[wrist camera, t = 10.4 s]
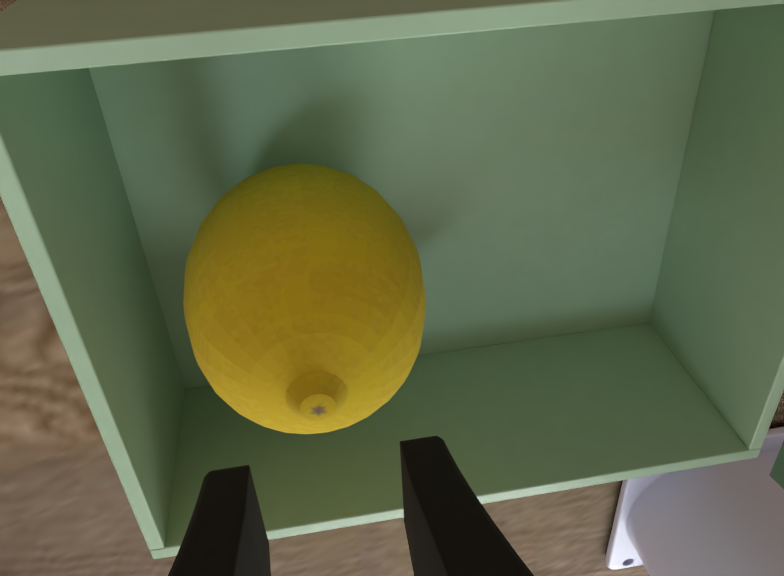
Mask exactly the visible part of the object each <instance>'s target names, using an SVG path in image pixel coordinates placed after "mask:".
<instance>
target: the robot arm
mask: <svg viewBox="0 0 784 576" xmlns="http://www.w3.org/2000/svg"><path fill="white" fill-rule="evenodd" d="M783 441H784V427H778V428H772V429H769V430H768V432H767V435H766V437H765V440H764V443H763V445H762V447H761V450H760V453H759V455H758V457H757V458H751V459H745V460H739V461H733V462H727V463H721V464H715V465H710V466H704V467H698V468H692V469H686V470H680V471H674V472H668V473H662V474H656V475H650V476H644V477H638V478H633V479H627V480H623V482H622V486H621V491H620V495H619V499H618V504H617V508H616V513H615V517H614V522H613V526H612V531H611V535H610V539H609V544H608V548H607V553H606V557H605V562H606V564H607V566H608V568H609V569H613V570H616V569H622V568H627V567H633V566H638V565H644V567H645V569H646V570H647V572H648V574H649V576H784V489H783V488H782V487H781V486H780V485H779V484H778V483H777V482H776V481H775V480H773V479H772V478H771V477H770V473H771V470H772V468H773V465H774V463H775V460H776V458H777V456H778V453H779V451H780V448H781V446H782V443H783ZM400 456H401V473H402V490H403V508H404V522H405V528H406V533H407V539H408V544H409V550H410V555H411V561H412V566H413V571H414V576H534V575H533V574H532V573H531V571H530V570H529V569H528V567H527V566H526V565H525V564H524V562H523V561H522V560H521V558H520V557H519V556H518V555H517V553H516V552H515V550H514V549H513V548H512V546H511V545H510V544H509V542H508V541H507V540H506V538H505V537H504V535H503V534H502V533H501V531H500V530H499V529H498V527H497V526H496V524H495V523H494V522H493V520H492V519H491V517H490V516H489V515H488V513H487V512H486V510H485V509H484V507H483V506H482V504H481V503H480V501H479V500H478V498H477V497H476V495H475V494H474V492H473V490H472V489H471V487H470V486H469V484H468V483H467V481H466V479H465V478H464V476H463V475H462V473H461V471H460V469H459V468H458V466H457V464H456V463H455V461H454V459H453V457H452V455H451V454H450V452H449V450H448V448H447V446H446V444H445V442H444V440H443V439H442V438H440V437H438V436H430V437H424V438H418V439H411V440H405V441H400ZM168 576H271V571H270V554H269V542H268V538H267V534H266V530H265V526H264V522H263V518H262V514H261V510H260V506H259V502H258V498H257V494H256V490H255V486H254V482H253V478H252V474H251V470H250V466H249V465H245V466H239V467H232V468H226V469H220V470H213V471H210V472H209V473H208V474H207V475H206V476H205V477H204V479H203V483H202V486H201V489H200V493H199V496H198V499H197V502H196V505H195V508H194V511H193V514H192V517H191V520H190V522H189V525H188V528H187V530H186V533H185V536H184V538H183V541H182V543H181V546H180V548H179V551H178V554H177V556H176V559H175V561H174V563H173V566H172V568H171V570H170V573H169V575H168Z"/></svg>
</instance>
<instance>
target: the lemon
mask: <svg viewBox="0 0 784 576" xmlns="http://www.w3.org/2000/svg"><path fill="white" fill-rule="evenodd" d="M183 307H184V316H185V322H186V326H187V329H188V333H189V337H190V341H191V345H192V349H193V352H194V356H195V358H196V361H197V363H198V366H199V367H200V369H201V370H202V372H203V374H204V375H205V377H206V378H207V380H208V382H209V383H210V385H211V386H212V388H213V389H214V391H215V393H216V394H217V395H218V396H219V397H221V398H222V399H223V400H224V401H225V402H226V403H227V404H228V405H229V406H231V407H232V408H233V409H234V410H235V411H236V412H237V413H239V414H240V415H242V416H244V417H246V418H248V419H249V420H251V421H253V422H255V423H257V424H259V425H261V426H264V427H266V428H270V429H274V430H277V431H281V432H284V433H295V434H315V433H326V432H331V431H334V430H338V429H341V428H345V427H349V426H351V425H353V424H355V423H357V422H359V421H361V420H363V419H365V418H367V417H368V416H370V415H371V414H372V413H373V412H375V411H376V410H377V409H379V408H380V407H381V406H383V405H384V404H385V403H386V402H388V401H389V400H390V399H391V398H392V396H393V395H394V394H395V393H396V392H397V390H398V389H399V388H400V387H401V386H402V384H403V383H404V382H405V380H406V379H407V377H408V375H409V373H410V371H411V369H412V366H413V364H414V362H415V360H416V358H417V355H418V352H419V349H420V346H421V340H422V334H423V327H424V320H425V311H426V295H425V288H424V281H423V275H422V268H421V262H420V258H419V254H418V251H417V249H416V247H415V244H414V242H413V240H412V238H411V236H410V234H409V232H408V230H407V228H406V226H405V224H404V222H403V221H402V219H401V218H400V216H399V215H398V214H397V212H396V211H395V210H394V209H393V208H392V207H391V206H390V205H389V204H388V202H387V201H386V200H385V199H384V198H383V197H382V196H381V195H380V194H379V193H378V192H377V191H376V190H375V189H374V188H372V187H371V186H369V185H367V184H366V183H364V182H363V181H361V180H360V179H358V178H356V177H355V176H353V175H352V174H349V173H346V172H343V171H340V170H337V169H334V168H330V167H327V166H324V165H315V164H302V163H295V164H289V165H282V166H276V167H271V168H269V169H266V170H264V171H261V172H259V173H257V174H254V175H252V176H249V177H247V178H245V179H244V180H242V181H241V182H240V183H238V184H237V185H236V186H234V187H233V188H232V189H230V190H229V191H228V192H226V193H225V194H224V195H223V196H222V197H221V198H220V199H219V201H218V202H217V203H216V204H215V206H214V207H213V208H212V209H211V211H210V212H209V213H208V215H207V216H206V217H205V218H204V220H203V221H202V223H201V225H200V227H199V229H198V232H197V234H196V237H195V240H194V242H193V245H192V247H191V250H190V252H189V255H188V258H187V262H186V266H185V280H184V297H183Z"/></svg>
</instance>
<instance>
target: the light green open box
mask: <svg viewBox="0 0 784 576" xmlns="http://www.w3.org/2000/svg"><path fill="white" fill-rule="evenodd" d="M295 163H302V164H315V165H324V166H327V167H330V168H334V169H337V170H340V171H343V172H346V173H349V174H352V175H353V176H355V177H356V178H358V179H360V180H361V181H363V182H364V183H366V184H367V185H369V186H371V187H372V188H374V189H375V190H376V191H377V192H378V193H379V194H380V195H381V196H382V197H383V198H384V199H385V200H386V201H387V202H388V204H389V205H390V206H391V207H392V208H393V209H394V210H395V211H396V212H397V214H398V215H399V216H400V218H401V219H402V221H403V222H404V224H405V226H406V228H407V230H408V232H409V234H410V236H411V238H412V240H413V242H414V244H415V247H416V249H417V251H418V254H419V258H420V262H421V268H422V275H423V281H424V288H425V295H426V311H425V320H424V327H423V334H422V340H421V346H420V349H419V352H418V355H417V358H416V360H415V362H414V364H413V366H412V369H411V371H410V373H409V375H408V377H407V379H406V380H405V382H404V383H403V384H402V386H401V387H400V388H399V389H398V390H397V392H396V393H395V394H394V395H393V396H392V398H391V399H390V400H389V401H388V402H386V403H385V404H384V405H383V406H381V407H380V408H379V409H377V410H376V411H375V412H373V413H372V414H371V415H370V416H368V417H367V418H365V419H363V420H361V421H359V422H357V423H355V424H353V425H351V426H349V427H345V428H341V429H338V430H334V431H331V432H326V433H315V434H295V433H284V432H281V431H277V430H274V429H270V428H266V427H264V426H261V425H259V424H257V423H255V422H253V421H251V420H249V419H248V418H246V417H244V416H242V415H240V414H239V413H237V412H236V411H235V410H234V409H233V408H232V407H231V406H229V405H228V404H227V403H226V402H225V401H224V400H223V399H222V398H221V397H219V396H218V395H217V394H216V393H215V391H214V389H213V388H212V386H211V385H210V383H209V382H208V380H207V378H206V377H205V375H204V374H203V372H202V370H201V369H200V367H199V366H198V363H197V361H196V358H195V356H194V352H193V349H192V345H191V341H190V337H189V333H188V329H187V326H186V322H185V316H184V307H183V297H184V280H185V266H186V262H187V258H188V255H189V252H190V250H191V247H192V245H193V242H194V240H195V237H196V234H197V232H198V229H199V227H200V225H201V223H202V221H203V220H204V218H205V217H206V216H207V215H208V213H209V212H210V211H211V209H212V208H213V207H214V206H215V204H216V203H217V202H218V201H219V199H220V198H221V197H222V196H223V195H224V194H225V193H226V192H228V191H229V190H230V189H232V188H233V187H234V186H236V185H237V184H238V183H240V182H241V181H242V180H244V179H245V178H247V177H249V176H252V175H254V174H257V173H259V172H261V171H264V170H266V169H269V168H271V167H276V166H282V165H289V164H295ZM0 196H1V199H2V201H3V203H4V206H5V208H6V210H7V213H8V215H9V218H10V220H11V222H12V225H13V227H14V230H15V232H16V234H17V237H18V239H19V241H20V244H21V246H22V249H23V251H24V253H25V256H26V258H27V260H28V263H29V265H30V268H31V270H32V272H33V275H34V277H35V279H36V282H37V284H38V287H39V289H40V291H41V294H42V296H43V298H44V301H45V303H46V306H47V308H48V310H49V313H50V315H51V317H52V320H53V322H54V325H55V327H56V329H57V332H58V334H59V336H60V339H61V341H62V344H63V346H64V348H65V351H66V353H67V355H68V358H69V360H70V363H71V365H72V367H73V370H74V372H75V374H76V377H77V379H78V382H79V384H80V386H81V389H82V391H83V393H84V396H85V398H86V401H87V403H88V405H89V408H90V410H91V413H92V415H93V417H94V420H95V422H96V424H97V427H98V429H99V432H100V434H101V436H102V439H103V441H104V443H105V446H106V448H107V451H108V453H109V455H110V458H111V460H112V462H113V465H114V467H115V470H116V472H117V474H118V477H119V479H120V481H121V484H122V486H123V489H124V491H125V493H126V496H127V498H128V500H129V503H130V505H131V508H132V510H133V512H134V515H135V517H136V519H137V522H138V524H139V527H140V529H141V531H142V534H143V536H144V538H145V541H146V543H147V546H148V548H149V550H150V553H151V555H152V557H153V559H159V558H165V557H171V556H176V555H177V554H178V551H179V548H180V546H181V543H182V541H183V538H184V536H185V533H186V530H187V528H188V525H189V522H190V520H191V517H192V514H193V511H194V508H195V505H196V502H197V499H198V496H199V493H200V489H201V486H202V483H203V479H204V477H205V476H206V475H207V474H208V473H209V472H210V471H213V470H220V469H226V468H232V467H239V466H245V465H249V466H250V470H251V474H252V478H253V482H254V486H255V490H256V494H257V498H258V502H259V506H260V510H261V514H262V518H263V522H264V526H265V530H266V534H267V538H268V540H271V539H277V538H283V537H289V536H295V535H301V534H307V533H313V532H319V531H325V530H330V529H336V528H342V527H348V526H354V525H360V524H366V523H372V522H378V521H384V520H390V519H396V518H402V517H404V508H403V490H402V473H401V456H400V441H405V440H411V439H418V438H424V437H430V436H438V437H440V438H442V439H443V440H444V442H445V444H446V446H447V448H448V450H449V452H450V454H451V455H452V457H453V459H454V461H455V463H456V464H457V466H458V468H459V469H460V471H461V473H462V475H463V476H464V478H465V479H466V481H467V483H468V484H469V486H470V487H471V489H472V490H473V492H474V494H475V495H476V497H477V498H478V500H479V501H480V503H481V504H484V503H490V502H496V501H502V500H508V499H514V498H520V497H526V496H532V495H538V494H544V493H550V492H556V491H561V490H567V489H573V488H579V487H585V486H591V485H597V484H603V483H609V482H615V481H621V480H627V479H633V478H638V477H644V476H650V475H656V474H662V473H668V472H674V471H680V470H686V469H692V468H698V467H704V466H710V465H715V464H721V463H727V462H733V461H739V460H745V459H751V458H757V457H758V455H759V453H760V450H761V447H762V445H763V443H764V440H765V437H766V435H767V432H768V430H769V427H770V424H771V422H772V419H773V417H774V414H775V412H776V409H777V406H778V404H779V401H780V399H781V396H782V393H783V391H784V0H17V1H16V2H14V3H13V4H12V5H10V6H9V7H7V8H6V9H5V10H3V11H2V12H1V13H0Z"/></svg>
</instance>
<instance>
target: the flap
mask: <svg viewBox="0 0 784 576" xmlns="http://www.w3.org/2000/svg"><path fill="white" fill-rule="evenodd" d="M770 477H771V478H772V479H773V480H775V481H776V482H777V483H778V484H779V485H780V486H781V487H782V488H783V489H784V441H783V443H782V446H781V448H780V451H779V453H778V456H777V458H776V460H775V463H774V465H773V468H772V470H771V473H770Z"/></svg>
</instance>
